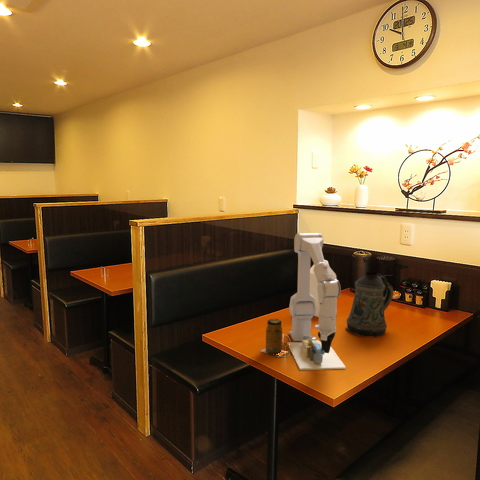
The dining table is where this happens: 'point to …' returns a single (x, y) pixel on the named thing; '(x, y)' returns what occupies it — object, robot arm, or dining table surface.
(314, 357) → the valve
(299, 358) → the board
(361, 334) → the beer stein
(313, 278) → the milk
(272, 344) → the condiment
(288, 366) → the dining table surface
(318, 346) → the lever
